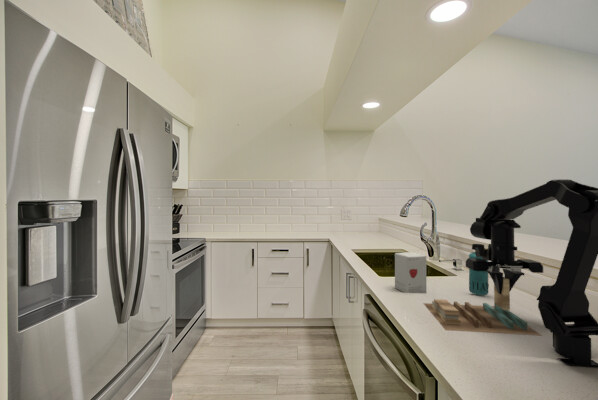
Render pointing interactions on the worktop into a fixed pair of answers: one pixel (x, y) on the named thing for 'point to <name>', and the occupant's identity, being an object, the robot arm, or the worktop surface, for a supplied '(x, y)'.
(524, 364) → the worktop surface
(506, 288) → the tan rectangular block
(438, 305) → the offcut stack
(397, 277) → the supplement box
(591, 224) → the robot arm
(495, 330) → the rack
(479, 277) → the beverage bottle
